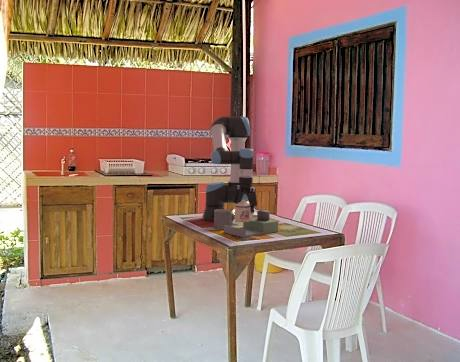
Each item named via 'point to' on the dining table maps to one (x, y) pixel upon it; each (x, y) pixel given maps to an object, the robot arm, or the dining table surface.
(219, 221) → the coffee mug
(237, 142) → the robot arm
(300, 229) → the dining table surface
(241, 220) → the teacup with lid
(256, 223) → the grey green blocky piece
